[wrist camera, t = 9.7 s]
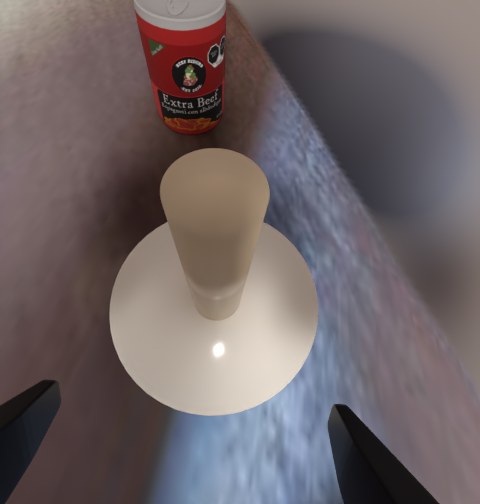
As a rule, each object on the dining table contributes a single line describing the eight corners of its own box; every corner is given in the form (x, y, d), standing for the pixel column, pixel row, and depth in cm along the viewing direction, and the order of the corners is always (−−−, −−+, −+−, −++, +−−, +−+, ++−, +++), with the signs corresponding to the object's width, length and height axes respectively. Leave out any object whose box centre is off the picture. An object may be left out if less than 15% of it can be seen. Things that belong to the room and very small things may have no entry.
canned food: (160, 139, 30) (132, 21, 20) (156, 91, 33) (130, -31, 23) (228, 134, 31) (233, 20, 21) (218, 88, 34) (219, -29, 25)
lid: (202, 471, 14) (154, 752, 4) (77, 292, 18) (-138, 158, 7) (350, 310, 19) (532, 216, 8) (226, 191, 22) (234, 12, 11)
